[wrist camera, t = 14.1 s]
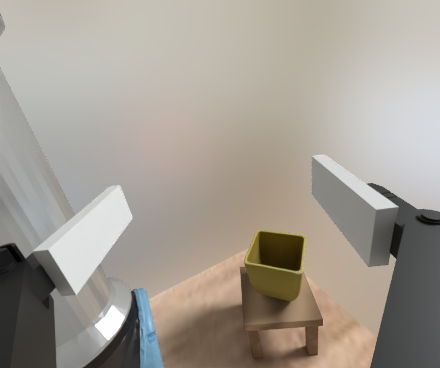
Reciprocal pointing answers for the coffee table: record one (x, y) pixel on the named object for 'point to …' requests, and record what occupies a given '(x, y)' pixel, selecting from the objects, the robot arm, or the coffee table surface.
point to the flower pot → (276, 264)
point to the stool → (279, 314)
